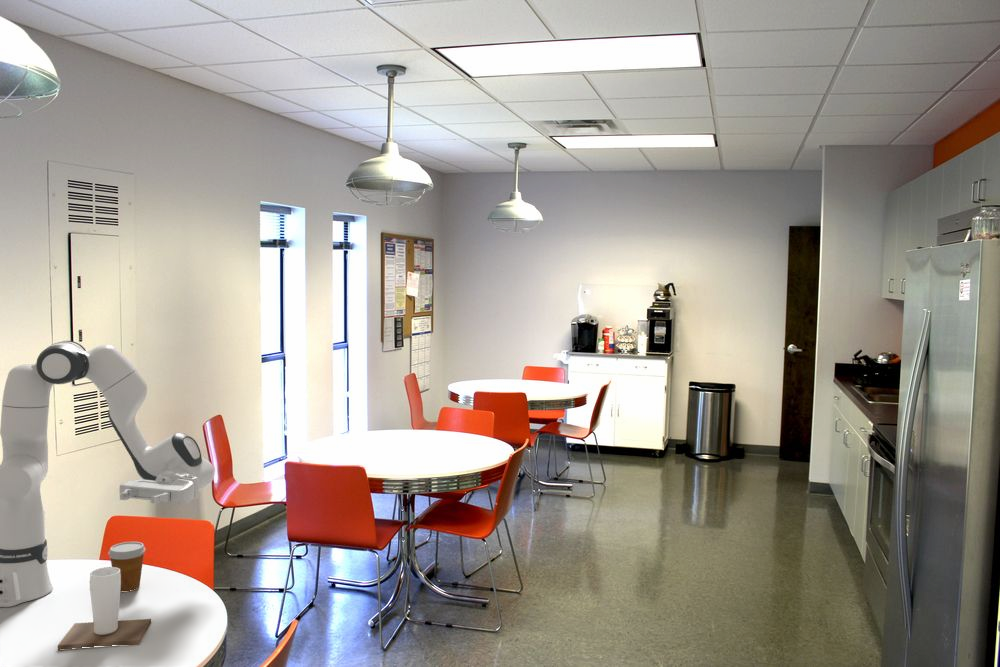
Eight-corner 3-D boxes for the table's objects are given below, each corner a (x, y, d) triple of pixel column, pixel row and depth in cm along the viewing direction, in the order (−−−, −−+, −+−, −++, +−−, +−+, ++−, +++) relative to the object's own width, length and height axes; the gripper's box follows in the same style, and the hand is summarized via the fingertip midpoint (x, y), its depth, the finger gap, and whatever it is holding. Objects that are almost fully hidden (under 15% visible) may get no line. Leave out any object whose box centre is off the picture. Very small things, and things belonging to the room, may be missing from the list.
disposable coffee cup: (104, 595, 215) (104, 553, 214) (113, 582, 224) (113, 542, 223) (142, 593, 217) (141, 551, 216) (149, 580, 226) (148, 540, 225)
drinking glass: (108, 638, 187) (107, 577, 186) (84, 635, 188) (83, 575, 187) (127, 626, 193) (126, 568, 192) (103, 623, 195) (103, 565, 194)
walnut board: (57, 650, 183) (57, 645, 183) (74, 627, 195) (74, 623, 195) (139, 644, 187) (139, 639, 187) (151, 623, 198) (151, 618, 198)
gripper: (139, 471, 220) (103, 483, 207) (202, 477, 215) (170, 490, 202) (139, 493, 220) (104, 507, 207) (202, 499, 215) (170, 514, 202)
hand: (137, 498), depth 204 cm, fingers open, 8 cm apart
